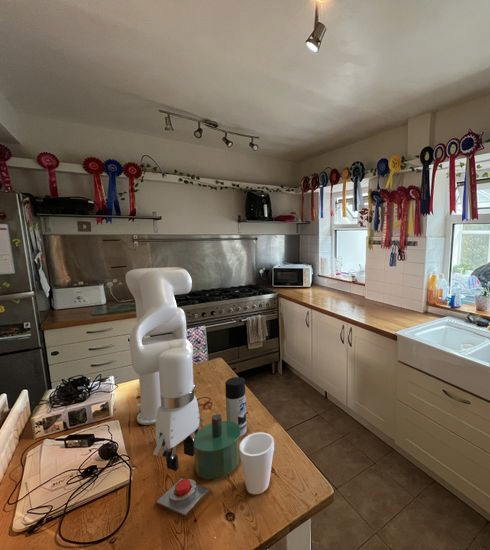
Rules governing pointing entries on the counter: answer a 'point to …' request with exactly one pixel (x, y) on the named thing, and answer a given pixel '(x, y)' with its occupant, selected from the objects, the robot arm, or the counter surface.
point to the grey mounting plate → (183, 498)
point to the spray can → (236, 402)
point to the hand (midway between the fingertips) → (181, 460)
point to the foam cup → (257, 461)
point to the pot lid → (216, 435)
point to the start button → (182, 487)
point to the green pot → (217, 462)
